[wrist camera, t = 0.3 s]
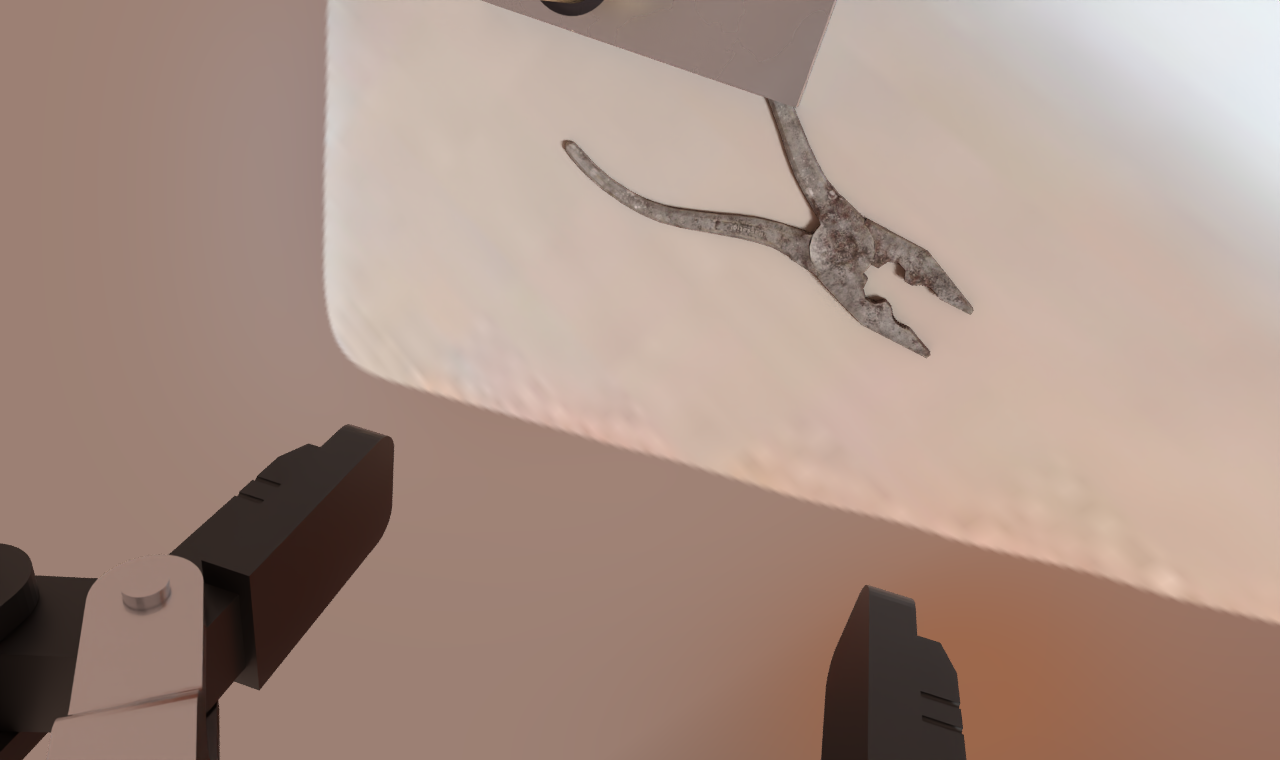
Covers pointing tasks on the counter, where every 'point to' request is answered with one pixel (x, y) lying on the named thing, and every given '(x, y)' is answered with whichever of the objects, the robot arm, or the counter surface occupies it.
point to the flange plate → (705, 36)
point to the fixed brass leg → (566, 1)
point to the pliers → (835, 244)
